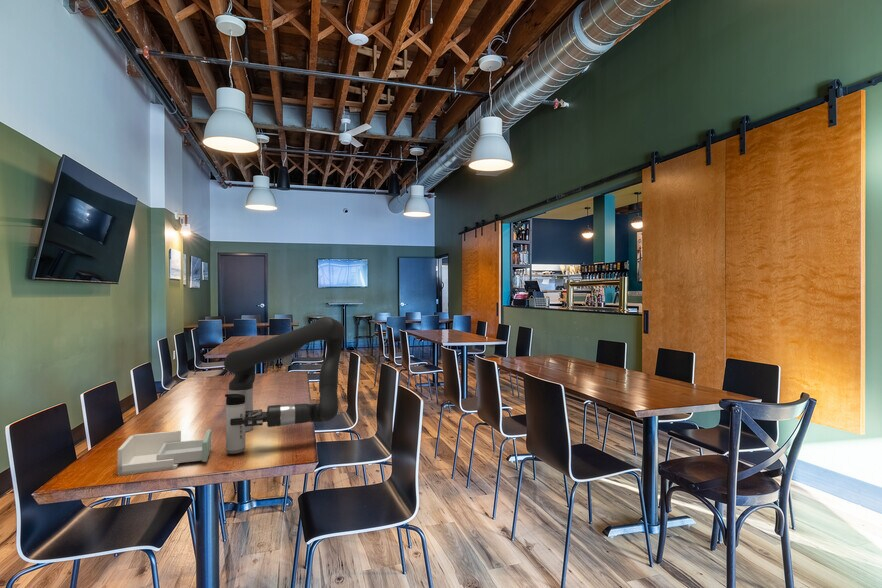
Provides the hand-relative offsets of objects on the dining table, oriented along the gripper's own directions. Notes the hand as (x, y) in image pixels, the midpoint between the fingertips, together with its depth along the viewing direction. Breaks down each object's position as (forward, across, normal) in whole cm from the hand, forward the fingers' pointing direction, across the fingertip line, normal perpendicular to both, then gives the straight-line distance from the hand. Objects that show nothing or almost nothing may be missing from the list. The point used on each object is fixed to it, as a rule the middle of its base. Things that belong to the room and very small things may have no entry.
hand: (231, 419), depth 164 cm
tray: (+14, 0, +11) cm, 18 cm away
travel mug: (-1, 0, +11) cm, 11 cm away
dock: (+24, 0, +12) cm, 26 cm away
